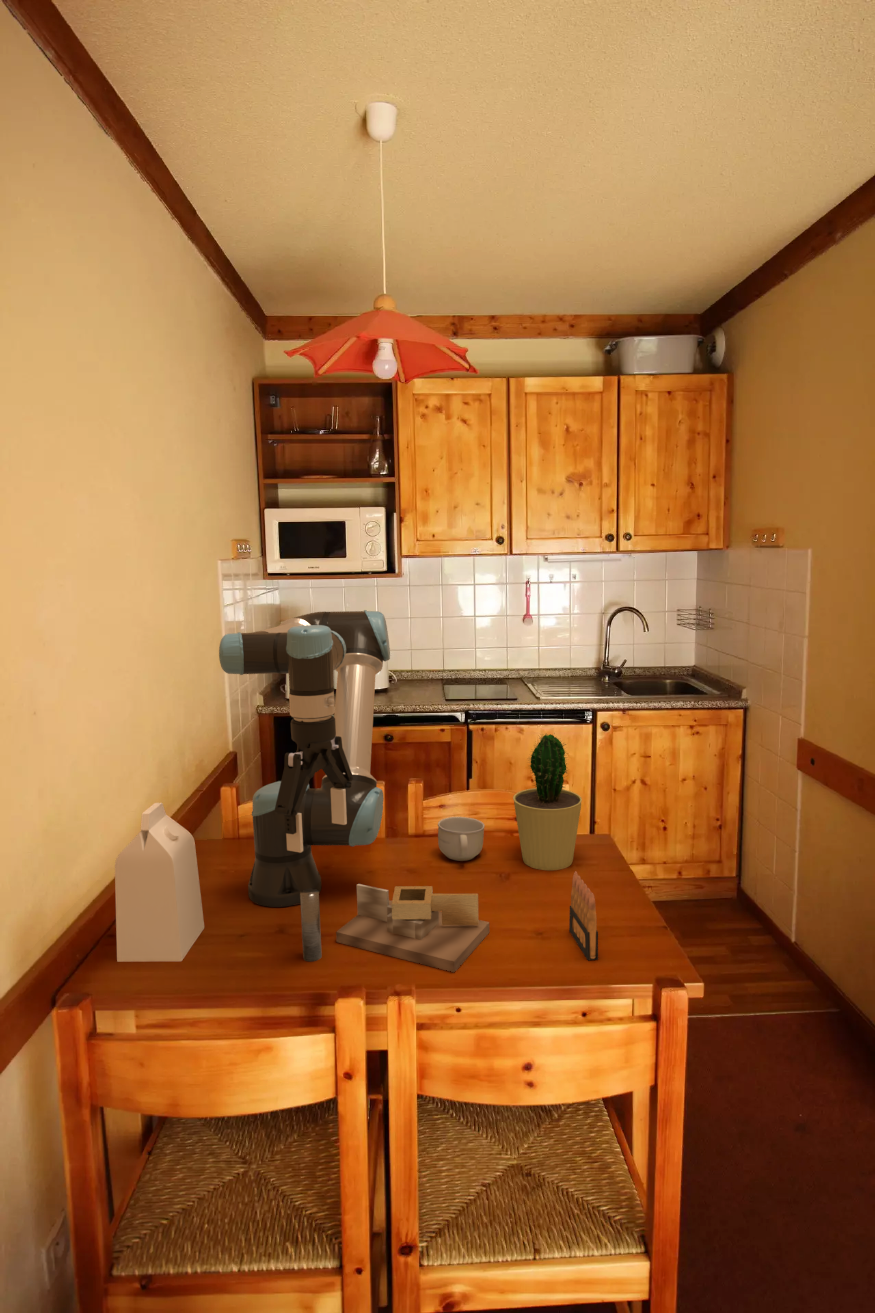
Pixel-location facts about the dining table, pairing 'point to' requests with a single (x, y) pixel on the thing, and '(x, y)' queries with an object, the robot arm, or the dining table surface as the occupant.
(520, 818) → the potted cactus
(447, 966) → the hinge base
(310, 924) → the hinge pin
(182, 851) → the milk
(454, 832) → the teacup
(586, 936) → the ammunition clip
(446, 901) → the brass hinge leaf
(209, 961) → the dining table surface
